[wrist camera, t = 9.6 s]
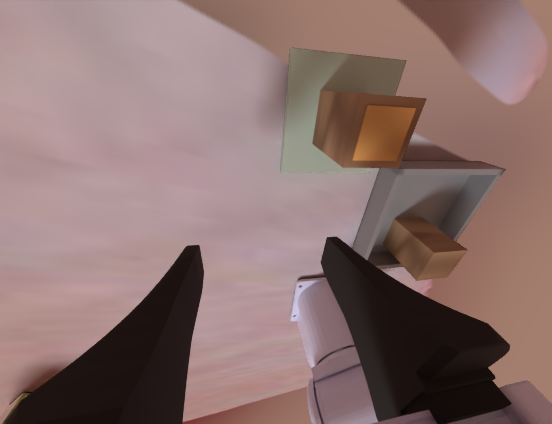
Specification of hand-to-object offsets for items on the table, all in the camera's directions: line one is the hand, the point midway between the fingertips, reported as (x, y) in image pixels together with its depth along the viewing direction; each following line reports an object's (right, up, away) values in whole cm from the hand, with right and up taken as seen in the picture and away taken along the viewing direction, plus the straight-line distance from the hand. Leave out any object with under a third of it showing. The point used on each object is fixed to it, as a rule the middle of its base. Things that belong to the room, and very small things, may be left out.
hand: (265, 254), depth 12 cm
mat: (+6, +10, +6) cm, 13 cm away
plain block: (+17, 0, +14) cm, 22 cm away
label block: (+6, +10, +5) cm, 13 cm away
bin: (+17, +2, +13) cm, 22 cm away
